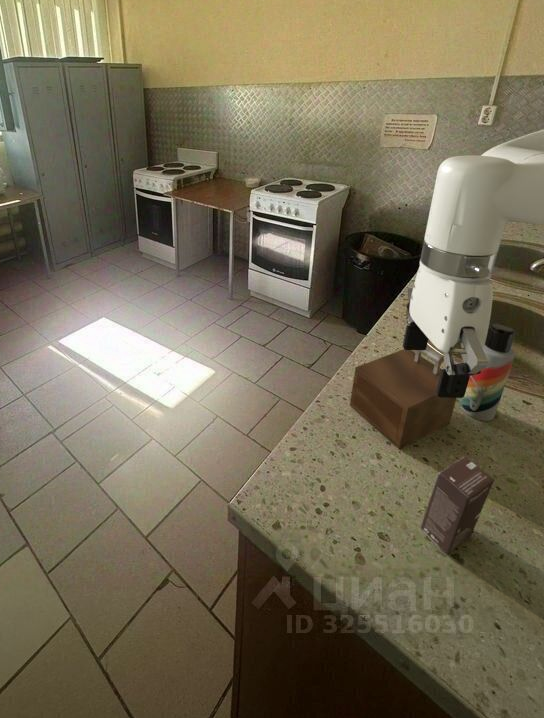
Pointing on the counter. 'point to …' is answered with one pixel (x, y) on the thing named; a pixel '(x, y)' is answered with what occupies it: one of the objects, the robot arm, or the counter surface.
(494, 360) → the lotion bottle
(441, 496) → the box
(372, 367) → the lid
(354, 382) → the chest
